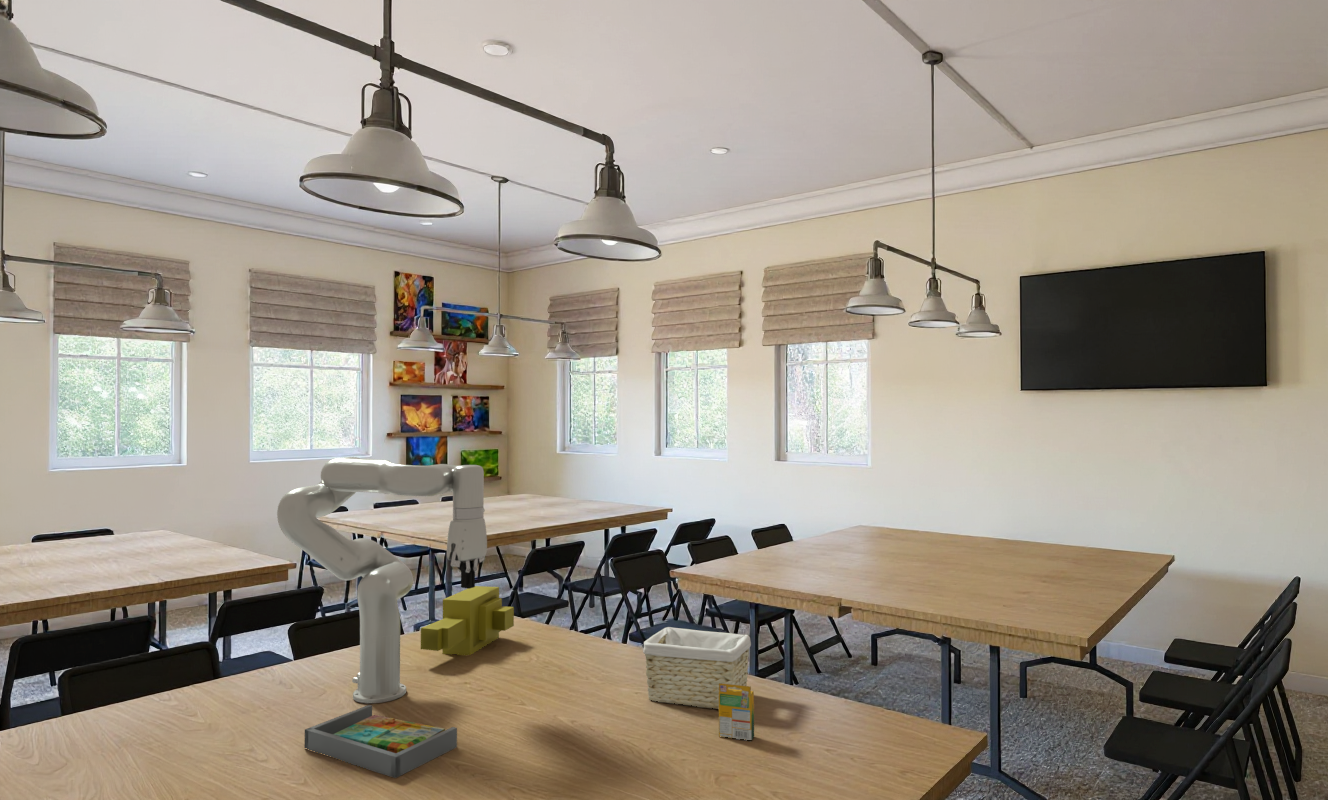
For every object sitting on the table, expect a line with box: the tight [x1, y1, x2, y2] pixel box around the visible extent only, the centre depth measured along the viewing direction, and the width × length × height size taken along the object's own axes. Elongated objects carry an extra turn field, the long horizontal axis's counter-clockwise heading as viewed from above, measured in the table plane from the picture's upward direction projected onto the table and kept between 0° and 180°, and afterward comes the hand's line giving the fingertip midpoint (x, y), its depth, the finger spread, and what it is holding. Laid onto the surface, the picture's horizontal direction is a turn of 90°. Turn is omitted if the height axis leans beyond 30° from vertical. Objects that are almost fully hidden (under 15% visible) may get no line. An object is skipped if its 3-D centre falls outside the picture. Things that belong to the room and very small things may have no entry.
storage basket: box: [642, 626, 752, 710], centre depth 190 cm, size 24×16×15 cm
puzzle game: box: [333, 714, 446, 753], centre depth 160 cm, size 12×5×20 cm
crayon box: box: [718, 683, 755, 741], centre depth 165 cm, size 7×3×12 cm, turn 71°
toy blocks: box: [420, 585, 515, 656], centre depth 229 cm, size 35×16×16 cm
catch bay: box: [303, 704, 458, 779], centre depth 160 cm, size 27×16×4 cm, turn 60°
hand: (467, 587), depth 191 cm, fingers closed
